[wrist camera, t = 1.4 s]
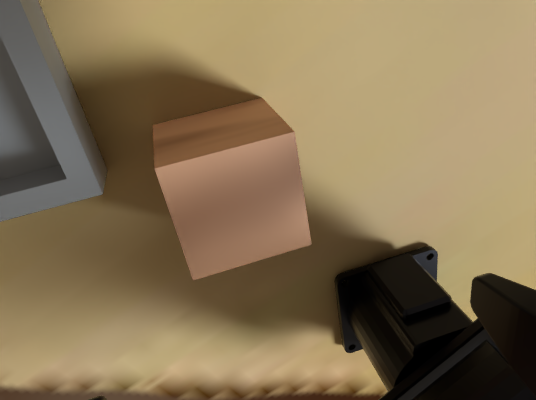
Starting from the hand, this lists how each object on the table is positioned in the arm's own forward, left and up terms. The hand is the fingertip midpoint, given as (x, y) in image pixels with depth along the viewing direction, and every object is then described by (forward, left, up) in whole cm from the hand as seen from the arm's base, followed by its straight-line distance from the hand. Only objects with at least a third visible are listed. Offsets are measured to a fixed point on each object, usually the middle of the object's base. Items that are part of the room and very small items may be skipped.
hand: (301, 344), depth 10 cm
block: (0, 0, -12) cm, 12 cm away
